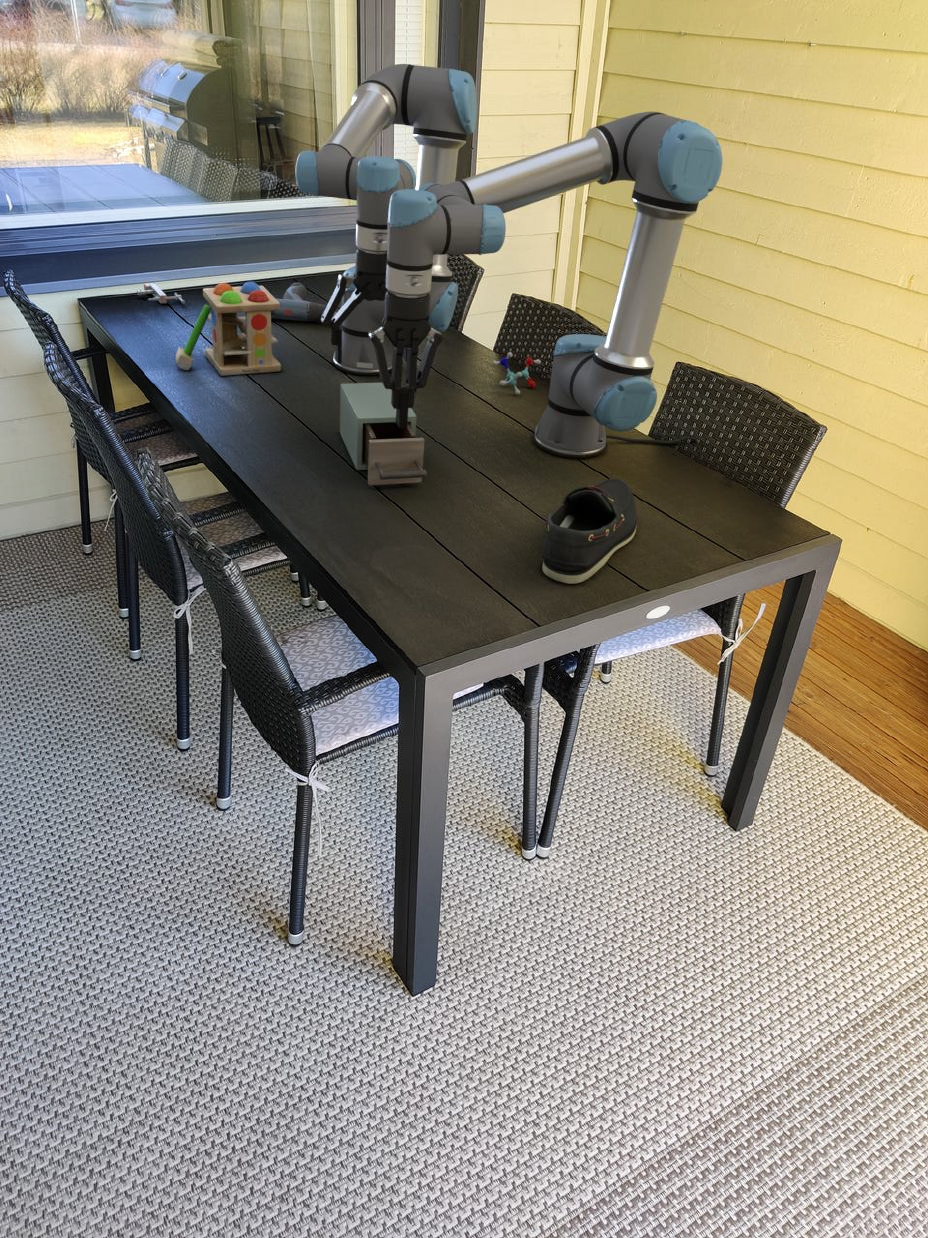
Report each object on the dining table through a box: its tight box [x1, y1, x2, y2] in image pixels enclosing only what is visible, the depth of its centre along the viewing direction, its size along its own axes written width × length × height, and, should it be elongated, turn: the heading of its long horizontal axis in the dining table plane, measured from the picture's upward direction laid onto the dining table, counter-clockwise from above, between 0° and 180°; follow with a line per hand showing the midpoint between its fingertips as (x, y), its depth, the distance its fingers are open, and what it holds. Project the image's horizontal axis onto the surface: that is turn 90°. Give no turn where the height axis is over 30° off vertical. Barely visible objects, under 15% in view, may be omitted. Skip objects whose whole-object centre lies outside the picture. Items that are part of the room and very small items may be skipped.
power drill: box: [271, 282, 338, 322], centre depth 265 cm, size 5×19×20 cm
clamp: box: [136, 283, 186, 305], centre depth 265 cm, size 15×2×10 cm
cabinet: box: [339, 382, 417, 471], centre depth 196 cm, size 18×11×11 cm, turn 17°
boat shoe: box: [541, 478, 638, 585], centre depth 172 cm, size 13×33×10 cm, turn 147°
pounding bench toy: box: [174, 281, 282, 377], centre depth 225 cm, size 23×14×18 cm, turn 116°
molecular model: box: [491, 351, 542, 396], centre depth 231 cm, size 12×10×10 cm
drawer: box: [362, 422, 428, 486], centre depth 186 cm, size 22×10×9 cm, turn 17°
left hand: (372, 360), depth 194 cm, fingers open, 13 cm apart
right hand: (401, 424), depth 176 cm, fingers closed
